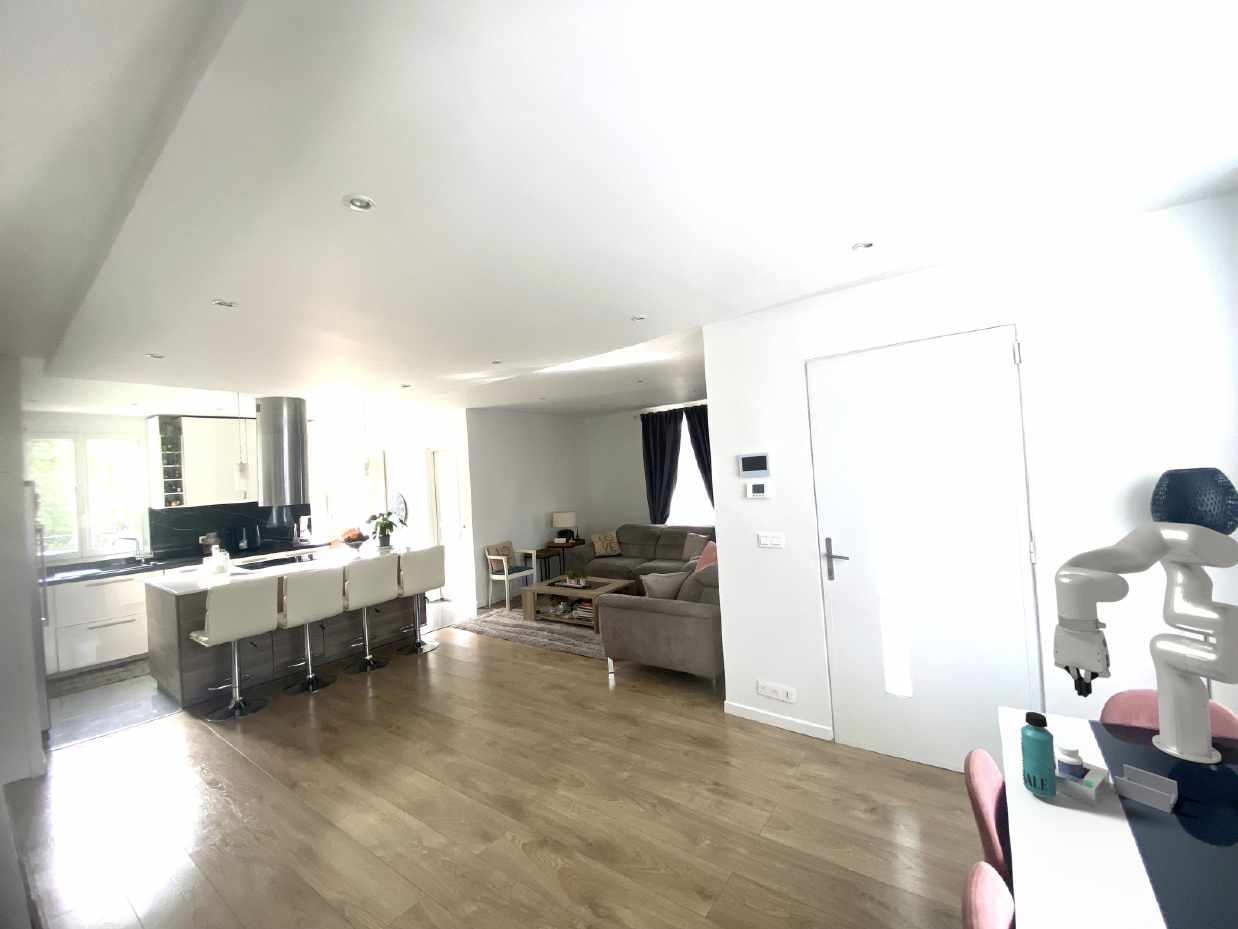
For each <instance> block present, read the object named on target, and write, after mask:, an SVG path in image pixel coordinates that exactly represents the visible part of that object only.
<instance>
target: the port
mask: <svg viewBox="0 0 1238 929" xmlns="http://www.w3.org/2000/svg"><path fill="white" fill-rule="evenodd" d="M1054 765H1055V751H1054ZM1083 769H1084V778H1083V779H1080V778H1077V777H1075V776H1072V775H1069V774H1067V773H1064V772H1061V771H1058V770H1056V768H1055V774H1056V776H1055V777H1056V793H1057V792H1058V793H1060V794H1062V795H1065V796H1068V797H1070V798H1072V799H1075V800H1077V801H1080V802H1081V803H1082V802H1083V803H1085V804H1088V805H1091V806H1092V807H1097V806H1098V804H1099V802H1100V801H1101V800H1102V799H1103V797H1104V796H1105V795H1106V793H1107V792H1106V791H1108V790H1109V789H1110V787H1111V782H1110V781H1111V780H1110V770H1108V769H1105V768H1103V767H1100V766H1097V765H1094V764H1091V763H1088V762H1085V761H1083ZM1101 798H1102V799H1101Z"/></svg>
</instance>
